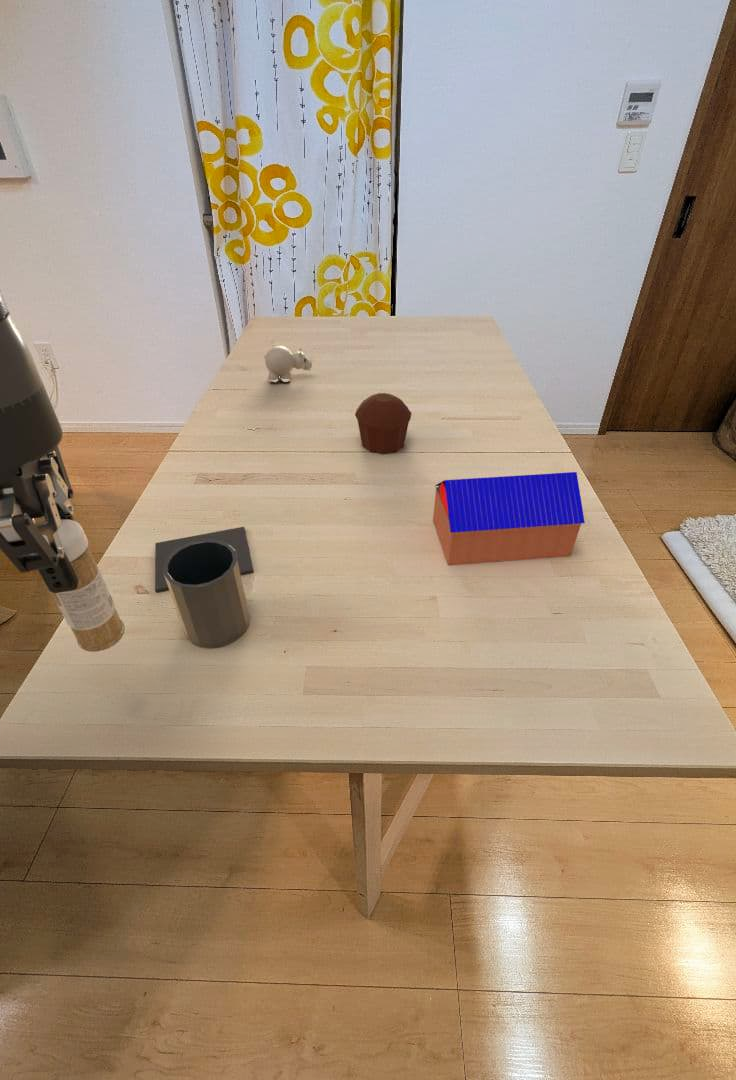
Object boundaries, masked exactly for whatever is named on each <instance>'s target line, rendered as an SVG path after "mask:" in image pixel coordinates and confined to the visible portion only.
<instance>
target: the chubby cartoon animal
mask: <svg viewBox="0 0 736 1080" xmlns="http://www.w3.org/2000/svg"><path fill="white" fill-rule="evenodd" d="M313 362H314V358H313V357H312V355H310V358H309V357H308V358H307V356H306V354H305V353H304V352H303V351H302V348H301V347H300V348H299V349H298V350H297V351H296V352H294V353H293V352H291V350H290V349H288V348H287V347H286V346H283V345H274V346H273V347H271V348H269V349H268V351H267V352H266V353H265V354H264V363H265V367H266V369H267V370H268V372H269V375H268V380H269V379H270V380H276V379H278V378H279V376H280V378H282V379H289V378H290V377H291V372H292V371H293V369H296V370H301V369H302V370H304V371H310V370H311V369H312V367H313Z"/></svg>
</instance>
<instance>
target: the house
mask: <svg viewBox="0 0 736 1080" xmlns="http://www.w3.org/2000/svg"><path fill="white" fill-rule="evenodd" d="M434 487H435V494H434V495H435V496H434V504H433V505H434V506H433V517H432V522H433V525H434V527H435V531H436V534H437V537H438V539H439V542H440V545H441V548H442V549H441V550H442V551H443V554H444V557H445V561H446V563H447V566H455V565H468V564H469V565H470V564H480V563H483V564H484V563H497V562H505V561H506V562H507V561H522V560H523V561H524V560H534V559H536V560H537V559H548V558H561V557H562V558H563V557H571V556H572V552H573V549H574V546H575V543H576V541H577V538H578V535H579V532H580V528H581V525H582V524H585V523H586V522H585V515H584V510H583V504H582V497H581V491H580V485H579V480H578V472H577V471H571V472H569V471H568V472H553V473H537V474H523V475H507V476H490V477H473V478H459V479H457V478H456V479H444V480H442V481H440V482H438V483H437V484H435V485H434Z"/></svg>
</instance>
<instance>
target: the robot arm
mask: <svg viewBox="0 0 736 1080" xmlns="http://www.w3.org/2000/svg"><path fill="white" fill-rule="evenodd" d="M62 439H63V429H62V426H61V423H60V421H59V418H58V416H57V413H56V412H55V409H54V406H53V403H52V401H51V399H50V397H49V394H48V392H47V389H46V387H45V385H44V382H43V380H42V378H41V375H40V372H39V370H38V367H37V365H36V361H34V357H33V355H32V352H31V350H30V348H29V346H28V343H27V342H26V339H25V338H24V336H23V334H22V332H21V331H20V329H19V328H18V325H17V324H16V323H15V321H14V318H13V316H12V314H11V312H10V310H9V308H8V306H7V304H6V301H5V298H4V296H3V293H2V290H0V550H1V552H2V553H3V554H4V555H5V556H6V557H7V558H8V559H9V561H10V562H11V563H12V564H13V566H15V567H16V569H17V570H18V571H19V572H20V573H21V574H24V573H29V572H32V571H38V572H39V574H40V576H41V578H42V580H43V582H44V584H45V585H46V587H47V589H48V590H49V592H50V593H51V594H52V593H60V592H65V591H71V590H75V589H76V588H77V586H78V578H77V576H76V574H75V572H74V570H73V568H72V566H71V564H70V562H69V560H68V558H67V556H66V553H65V552H64V548H63V547H62V544H61V541H60V538H59V535H58V532H57V530H58V529H59V528H60V527H61V524H62V523H61V519H68V520H73V521H75V518H74V516H73V515H74V511H75V509H74V506H73V504H72V502H71V501H70V499H74V493H75V492H74V489H73V488H72V485H71V482H70V478H69V476H68V473H67V472H68V471H67V470H66V466H65V464H64V461H63V458H62V454H61V452H60V448H59V444H60V443H61V441H62ZM35 519H41V521H36V520H35ZM75 522H76V521H75ZM42 534H43V535H46V536H47V538H48V541H49V543H48V542H47V541H46V539H45V538H44V536H43V535H42ZM49 544H50V545H49Z"/></svg>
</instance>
